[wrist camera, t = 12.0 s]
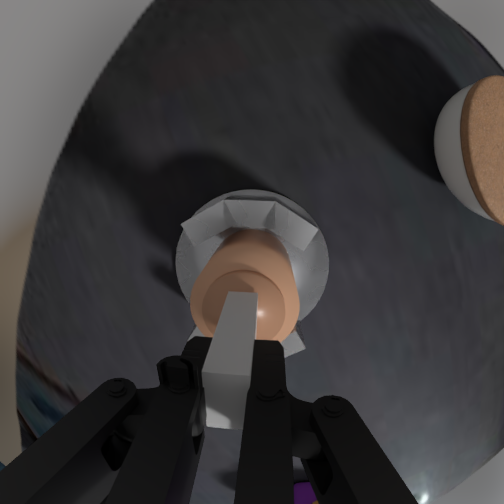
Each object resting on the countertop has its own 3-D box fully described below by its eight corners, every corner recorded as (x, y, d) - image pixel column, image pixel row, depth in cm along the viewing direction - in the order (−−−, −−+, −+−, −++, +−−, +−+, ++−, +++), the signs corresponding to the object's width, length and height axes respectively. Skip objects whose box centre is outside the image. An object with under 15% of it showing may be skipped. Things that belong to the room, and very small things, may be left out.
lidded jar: (505, 199, 20) (572, 216, 11) (427, 224, 21) (497, 254, 12) (482, 92, 17) (547, 75, 8) (397, 98, 19) (461, 66, 10)
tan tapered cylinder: (213, 301, 23) (190, 354, 16) (212, 227, 22) (184, 255, 14) (287, 305, 23) (295, 361, 16) (293, 230, 22) (305, 260, 14)
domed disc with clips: (181, 327, 25) (164, 359, 20) (175, 188, 22) (151, 192, 17) (318, 335, 24) (328, 369, 19) (333, 193, 21) (351, 199, 16)
